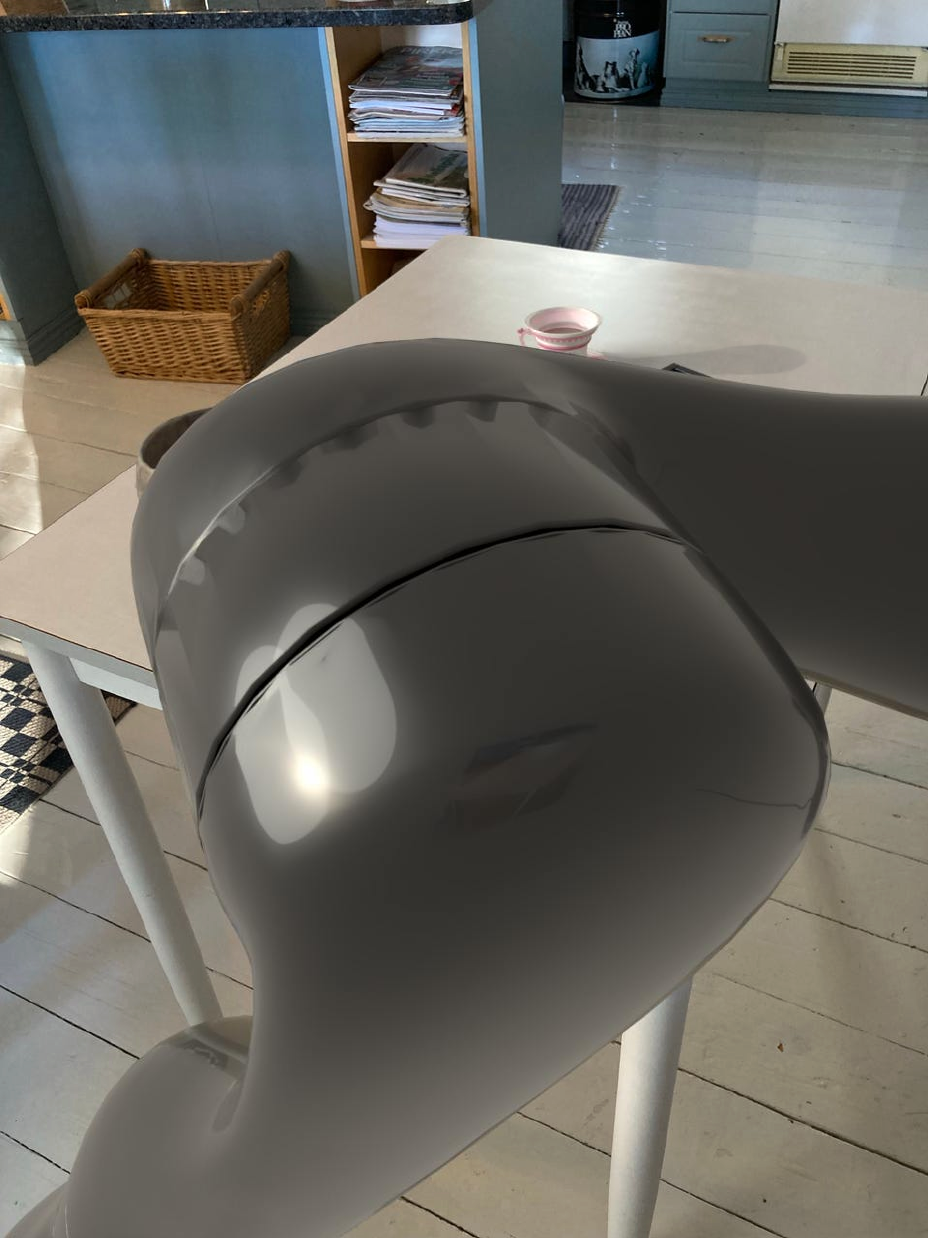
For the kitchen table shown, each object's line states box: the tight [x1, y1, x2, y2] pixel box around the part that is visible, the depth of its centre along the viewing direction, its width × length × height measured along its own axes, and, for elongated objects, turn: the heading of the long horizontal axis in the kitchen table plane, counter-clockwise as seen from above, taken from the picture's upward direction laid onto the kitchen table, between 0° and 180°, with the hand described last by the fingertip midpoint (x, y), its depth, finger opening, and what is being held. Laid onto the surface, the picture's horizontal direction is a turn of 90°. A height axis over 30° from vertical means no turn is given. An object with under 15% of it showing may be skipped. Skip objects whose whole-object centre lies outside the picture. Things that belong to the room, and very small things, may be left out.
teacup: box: [516, 306, 613, 361], centre depth 110 cm, size 12×12×6 cm
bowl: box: [134, 406, 214, 501], centre depth 87 cm, size 14×15×10 cm
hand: (584, 746), depth 55 cm, fingers open, 8 cm apart
